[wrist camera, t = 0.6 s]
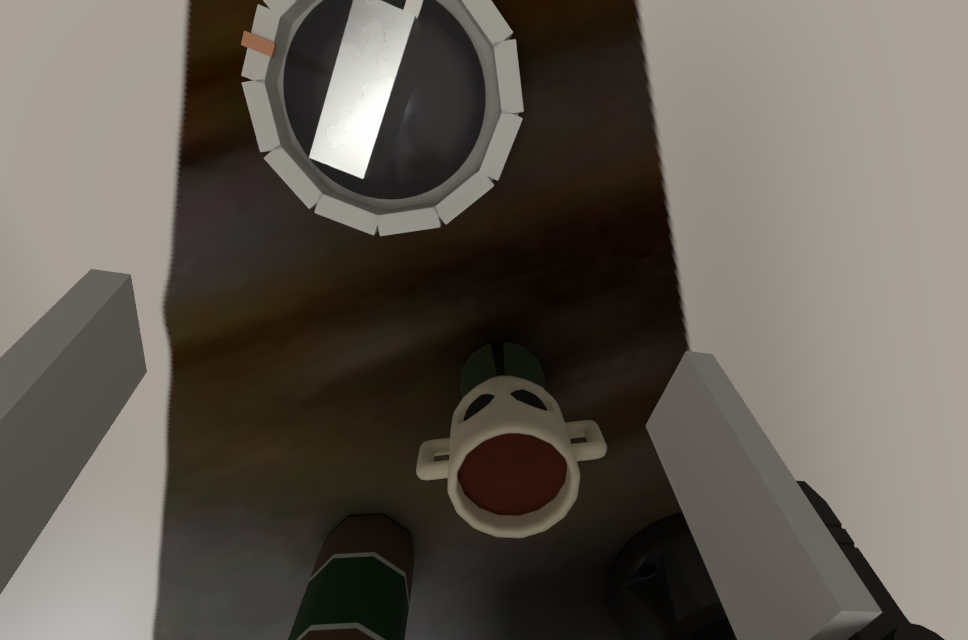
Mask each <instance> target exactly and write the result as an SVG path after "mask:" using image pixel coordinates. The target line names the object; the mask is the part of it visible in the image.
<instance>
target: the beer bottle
mask: <svg viewBox="0 0 968 640" xmlns="http://www.w3.org/2000/svg"><path fill="white" fill-rule="evenodd" d="M412 579H413V554H412V546H411V537H410V534H409V532H407V531H406V530H404V529H403V528H401V527H400V526H398V525H397V524H396V523H394V522H393V521H391V520H390V519H388V518H387V517H385V516H384V515H367V516H349V517H348V518H347V519H346V520H345V521H344V522H343V523H342V524H341V525H340V526H339V527H338V528H337V529H336V530H335V531H334V532H333V533H332V534H331V535H330V536H329V537H328V538H327V539H326V540H325V542H324V544H323V547H322V549H321V551H320V553H319V556H318V558H317V561H316V564H315V567H314V569H313V572H312V575H311V578H310V581H309V583H308V586H307V589H306V592H305V594H304V597H303V600H302V603H301V605H300V608H299V611H298V614H297V617H296V619H295V622H294V625H293V628H292V630H291V633H290V636H289V639H288V640H404V639H405V631H406V624H407V616H408V609H409V602H410V594H411V587H412Z"/></svg>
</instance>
